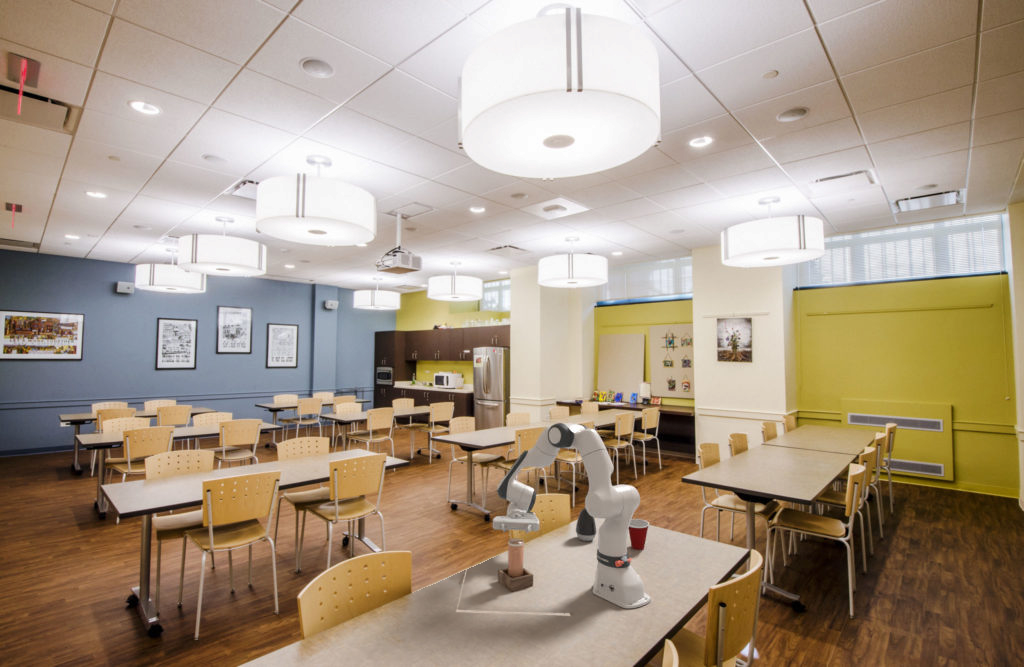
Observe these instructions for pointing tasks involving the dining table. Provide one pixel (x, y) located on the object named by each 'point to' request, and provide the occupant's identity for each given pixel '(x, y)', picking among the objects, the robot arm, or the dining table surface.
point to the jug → (515, 558)
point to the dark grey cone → (585, 526)
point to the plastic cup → (638, 533)
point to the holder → (515, 580)
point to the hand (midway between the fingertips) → (516, 530)
